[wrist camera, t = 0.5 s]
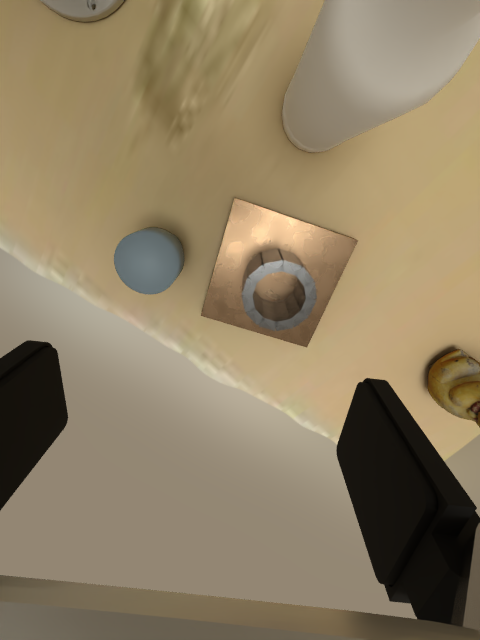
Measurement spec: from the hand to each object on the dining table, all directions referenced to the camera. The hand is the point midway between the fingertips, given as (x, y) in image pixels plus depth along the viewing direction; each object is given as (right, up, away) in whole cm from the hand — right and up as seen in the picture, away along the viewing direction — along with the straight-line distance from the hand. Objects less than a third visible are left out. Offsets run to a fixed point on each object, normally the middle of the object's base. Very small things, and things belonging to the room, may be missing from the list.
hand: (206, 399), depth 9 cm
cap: (-9, +12, +30) cm, 33 cm away
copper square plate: (+6, +8, +31) cm, 33 cm away
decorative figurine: (+33, -6, +37) cm, 50 cm away
